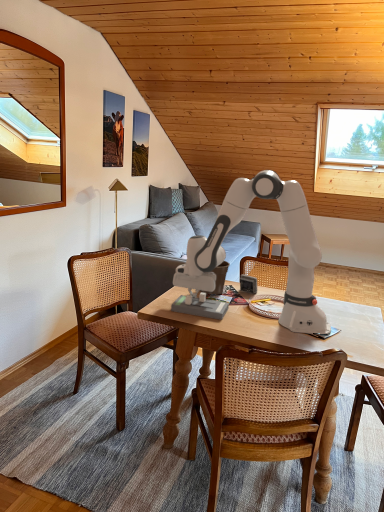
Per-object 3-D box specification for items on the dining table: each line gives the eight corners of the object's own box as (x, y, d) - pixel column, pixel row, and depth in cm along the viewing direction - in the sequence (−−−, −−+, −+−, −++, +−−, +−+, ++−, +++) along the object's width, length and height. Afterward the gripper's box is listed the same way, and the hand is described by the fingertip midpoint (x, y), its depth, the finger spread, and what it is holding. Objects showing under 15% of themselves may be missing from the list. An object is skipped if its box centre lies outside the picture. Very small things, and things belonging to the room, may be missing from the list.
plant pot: (224, 287, 217) (227, 258, 213) (229, 297, 202) (232, 267, 198) (195, 285, 216) (197, 257, 212) (197, 296, 201) (199, 266, 196)
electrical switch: (257, 292, 212) (258, 276, 208) (253, 296, 207) (254, 279, 204) (241, 288, 216) (242, 273, 213) (237, 292, 212) (238, 276, 209)
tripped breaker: (205, 300, 186) (206, 293, 185) (204, 302, 184) (204, 294, 183) (200, 299, 187) (201, 292, 186) (199, 301, 185) (199, 294, 184)
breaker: (191, 302, 182) (192, 295, 181) (190, 304, 180) (190, 297, 179) (186, 302, 183) (187, 294, 182) (185, 303, 180) (185, 296, 179)
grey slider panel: (228, 308, 187) (228, 302, 186) (221, 319, 174) (222, 313, 173) (180, 300, 193) (180, 294, 192) (170, 310, 180) (171, 304, 179)
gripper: (218, 270, 183) (216, 298, 187) (176, 264, 188) (175, 292, 192) (215, 274, 177) (212, 303, 181) (172, 268, 183) (171, 296, 186)
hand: (193, 297), depth 186 cm, fingers closed
